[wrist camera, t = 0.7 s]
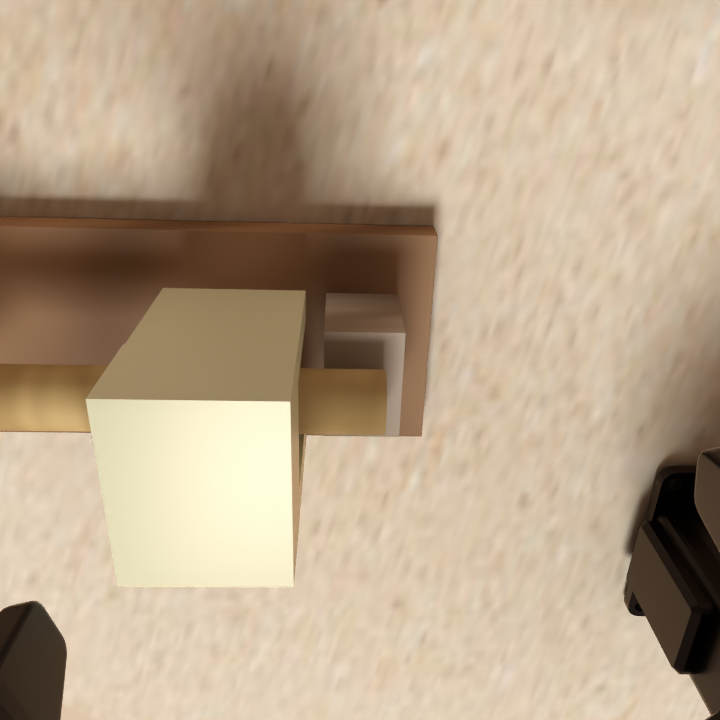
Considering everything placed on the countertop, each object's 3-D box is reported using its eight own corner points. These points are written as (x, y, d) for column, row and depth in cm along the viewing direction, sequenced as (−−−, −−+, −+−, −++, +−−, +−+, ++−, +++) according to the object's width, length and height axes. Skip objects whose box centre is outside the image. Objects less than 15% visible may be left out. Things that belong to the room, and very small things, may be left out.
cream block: (305, 288, 17) (290, 401, 12) (306, 435, 19) (293, 587, 14) (162, 285, 17) (85, 398, 12) (178, 434, 19) (117, 586, 14)
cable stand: (433, 226, 19) (470, 307, 14) (418, 419, 22) (444, 552, 17) (-182, 212, 19) (-402, 291, 13) (-117, 413, 22) (-276, 548, 16)
